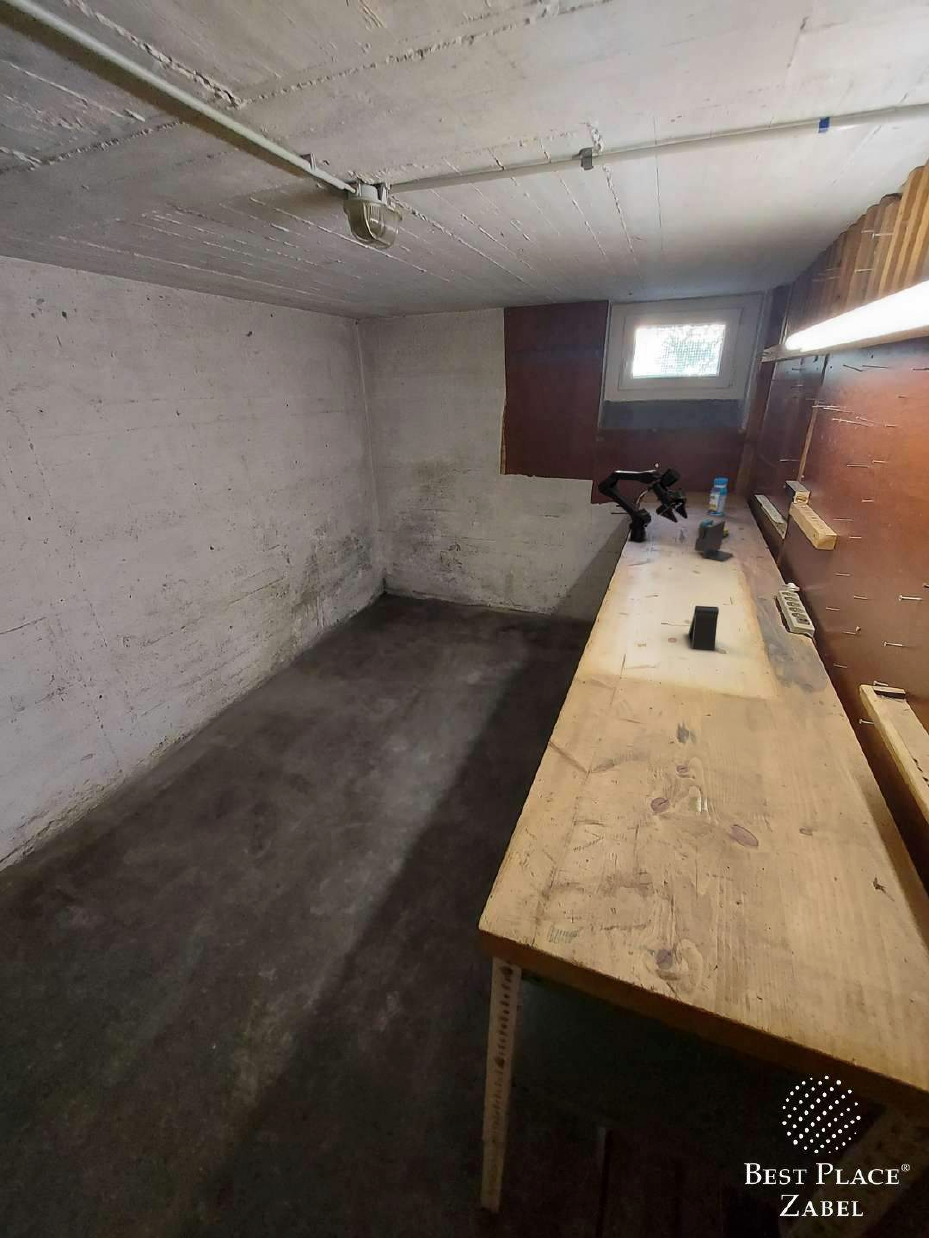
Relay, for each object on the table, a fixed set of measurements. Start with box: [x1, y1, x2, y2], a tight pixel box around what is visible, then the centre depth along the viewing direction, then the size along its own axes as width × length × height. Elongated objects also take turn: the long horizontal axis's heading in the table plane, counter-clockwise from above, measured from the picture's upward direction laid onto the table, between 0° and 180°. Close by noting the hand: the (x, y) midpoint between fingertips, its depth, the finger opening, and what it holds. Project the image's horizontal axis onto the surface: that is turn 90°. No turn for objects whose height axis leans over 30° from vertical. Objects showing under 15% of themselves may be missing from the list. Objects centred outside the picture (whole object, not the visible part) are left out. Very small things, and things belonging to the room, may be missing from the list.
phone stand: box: [687, 605, 720, 651], centre depth 145 cm, size 9×6×12 cm, turn 165°
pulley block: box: [697, 522, 730, 538], centre depth 241 cm, size 14×6×30 cm
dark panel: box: [702, 520, 734, 562], centre depth 214 cm, size 13×14×14 cm
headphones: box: [694, 518, 714, 553], centre depth 217 cm, size 4×7×13 cm, turn 131°
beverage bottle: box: [707, 477, 729, 517], centre depth 276 cm, size 8×8×20 cm
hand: (681, 520), depth 223 cm, fingers open, 9 cm apart
